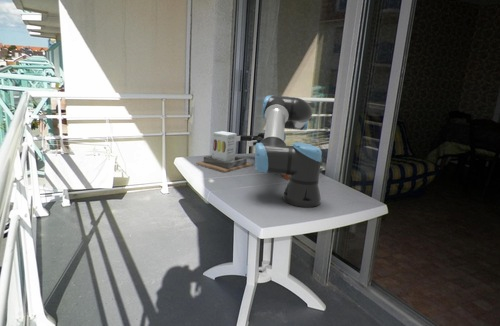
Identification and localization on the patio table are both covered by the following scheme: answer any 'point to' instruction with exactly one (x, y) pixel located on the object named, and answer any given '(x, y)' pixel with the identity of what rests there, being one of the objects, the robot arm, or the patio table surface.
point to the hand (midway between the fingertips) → (239, 141)
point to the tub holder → (224, 164)
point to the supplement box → (224, 146)
